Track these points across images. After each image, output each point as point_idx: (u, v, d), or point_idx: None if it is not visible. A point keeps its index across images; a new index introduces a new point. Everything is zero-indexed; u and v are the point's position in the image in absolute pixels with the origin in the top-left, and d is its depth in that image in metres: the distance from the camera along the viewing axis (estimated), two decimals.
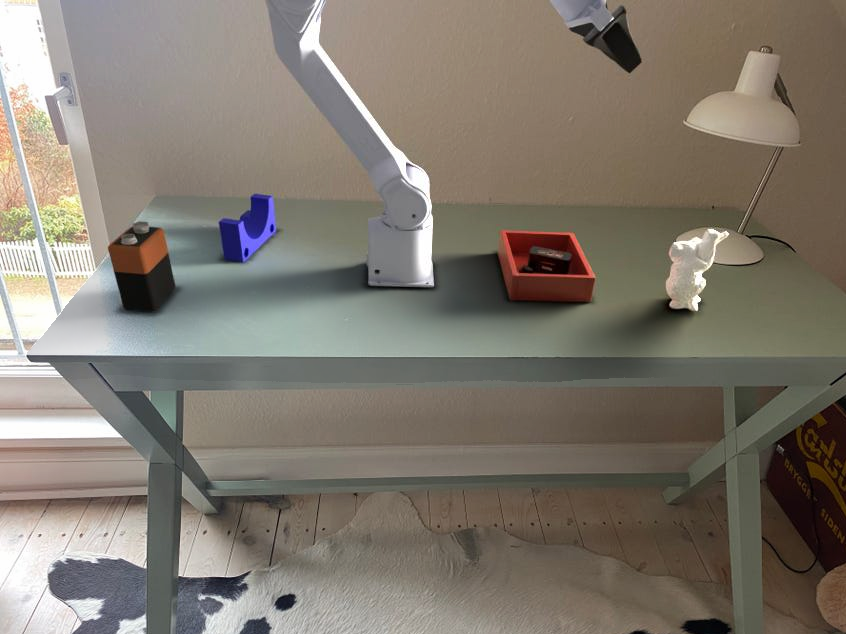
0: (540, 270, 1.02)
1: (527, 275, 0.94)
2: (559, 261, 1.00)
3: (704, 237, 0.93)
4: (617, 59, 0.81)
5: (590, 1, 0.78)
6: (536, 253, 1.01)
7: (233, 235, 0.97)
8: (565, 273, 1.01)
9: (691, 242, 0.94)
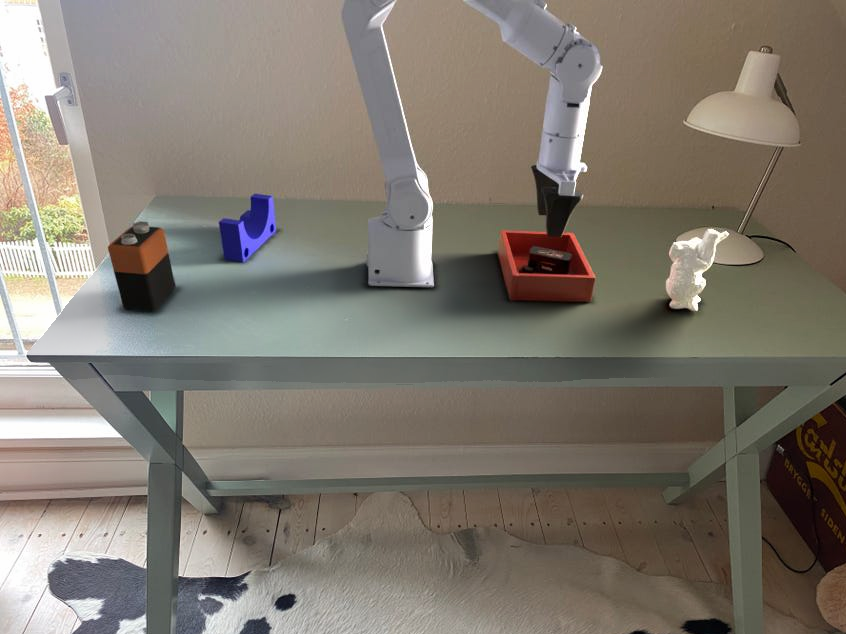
0: (540, 270, 1.02)
1: (527, 275, 0.94)
2: (559, 261, 1.00)
3: (704, 237, 0.93)
4: (549, 221, 0.93)
5: (566, 169, 0.91)
6: (536, 253, 1.01)
7: (233, 235, 0.97)
8: (565, 273, 1.01)
9: (691, 242, 0.94)
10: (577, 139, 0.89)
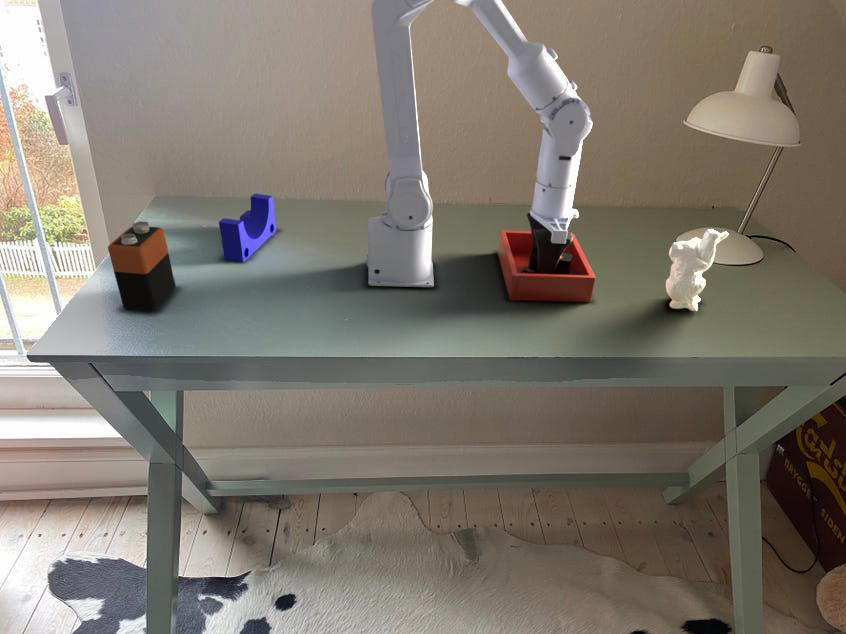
0: None
1: (527, 275, 0.94)
2: (560, 262, 1.00)
3: (704, 237, 0.93)
4: (541, 261, 0.98)
5: (558, 216, 0.95)
6: (537, 255, 1.00)
7: (233, 235, 0.97)
8: (566, 274, 1.01)
9: (691, 242, 0.94)
10: (569, 189, 0.93)
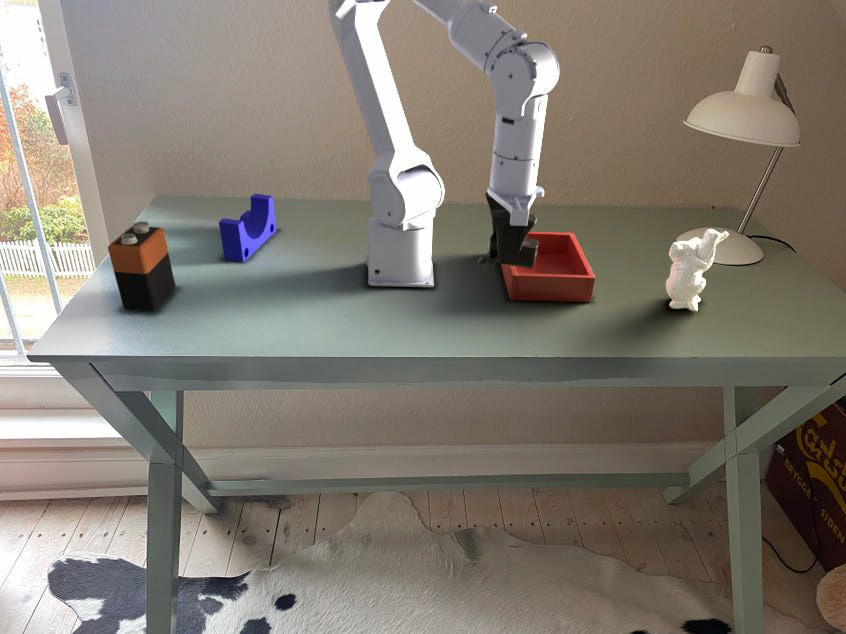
0: None
1: (527, 275, 0.94)
2: (524, 249, 0.86)
3: (704, 237, 0.93)
4: (500, 247, 0.84)
5: (519, 194, 0.80)
6: None
7: (233, 235, 0.97)
8: (532, 263, 0.87)
9: (691, 242, 0.94)
10: (531, 161, 0.78)
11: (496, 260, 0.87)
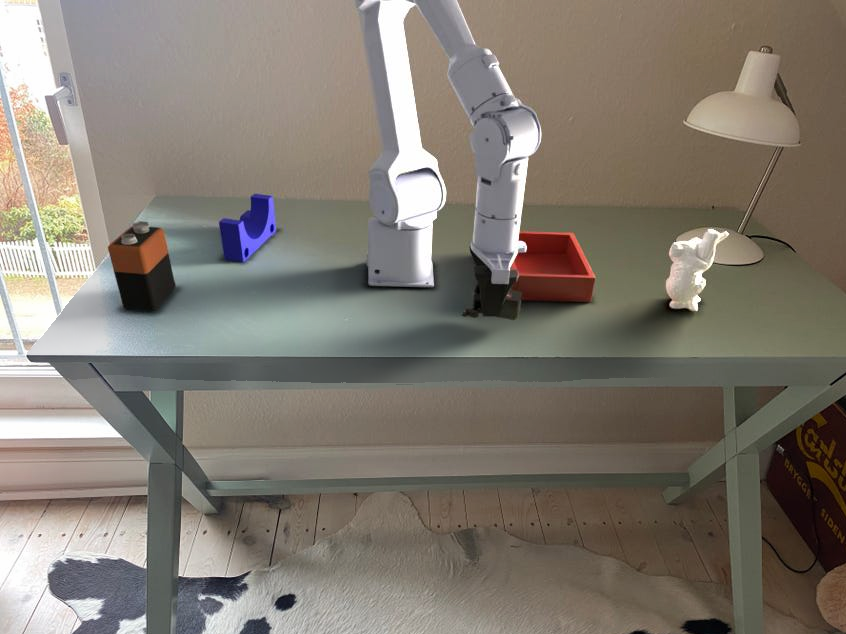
0: None
1: (527, 275, 0.94)
2: (507, 302, 0.87)
3: (704, 237, 0.93)
4: (483, 301, 0.85)
5: (501, 251, 0.82)
6: None
7: (233, 235, 0.97)
8: (515, 315, 0.88)
9: (691, 242, 0.94)
10: (512, 220, 0.80)
11: (480, 311, 0.89)
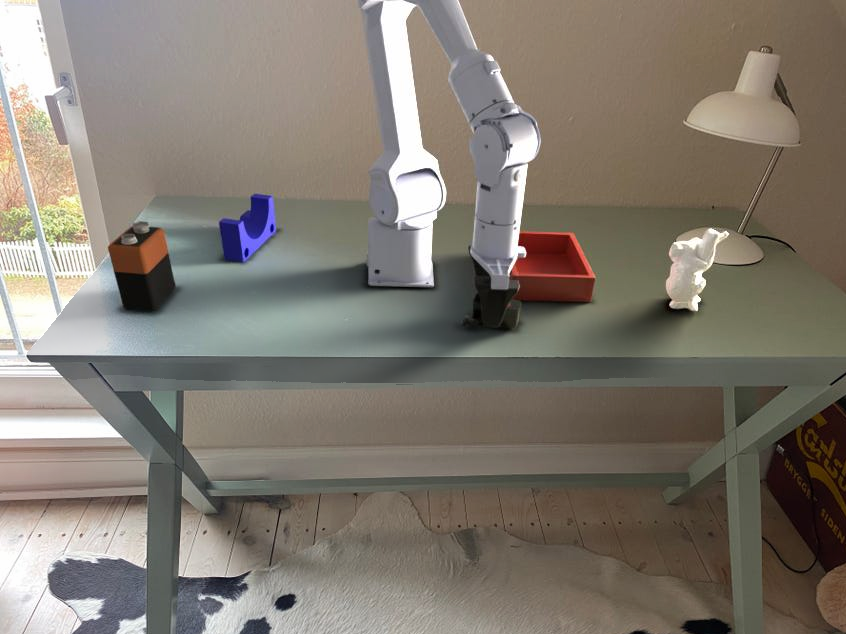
0: None
1: (527, 275, 0.94)
2: (506, 311, 0.88)
3: (704, 237, 0.93)
4: (484, 312, 0.84)
5: (501, 257, 0.82)
6: (480, 302, 0.88)
7: (233, 235, 0.97)
8: (514, 324, 0.89)
9: (691, 242, 0.94)
10: (512, 226, 0.80)
11: (479, 320, 0.89)
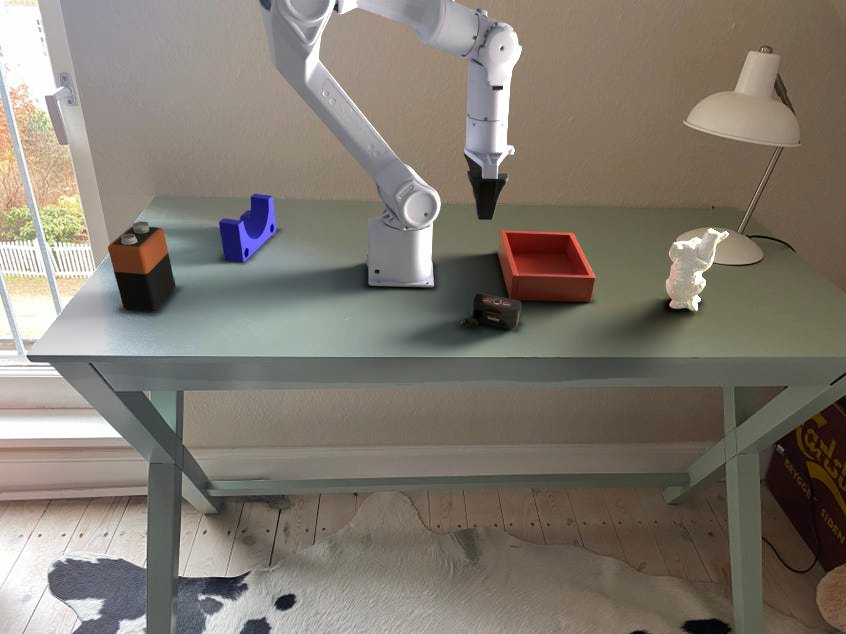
0: (486, 321, 0.89)
1: (527, 275, 0.94)
2: (506, 311, 0.88)
3: (704, 237, 0.93)
4: (478, 204, 0.94)
5: (491, 152, 0.91)
6: (480, 302, 0.88)
7: (233, 235, 0.97)
8: (514, 324, 0.89)
9: (691, 242, 0.94)
10: (499, 122, 0.90)
11: (479, 320, 0.89)
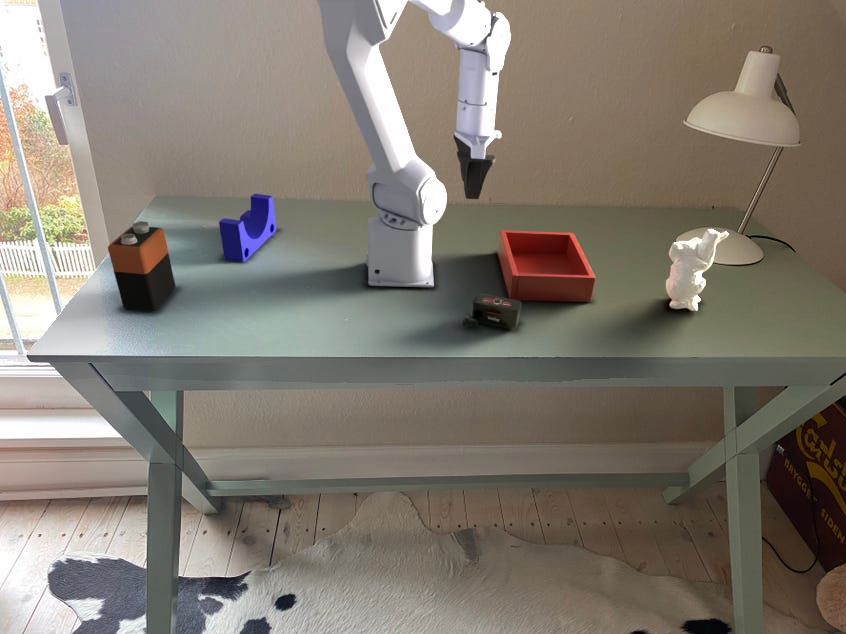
0: (486, 321, 0.89)
1: (527, 275, 0.94)
2: (506, 311, 0.88)
3: (704, 237, 0.93)
4: (466, 183, 1.00)
5: (479, 135, 0.98)
6: (480, 302, 0.88)
7: (233, 235, 0.97)
8: (514, 324, 0.89)
9: (691, 242, 0.94)
10: (488, 106, 0.96)
11: (479, 320, 0.89)
